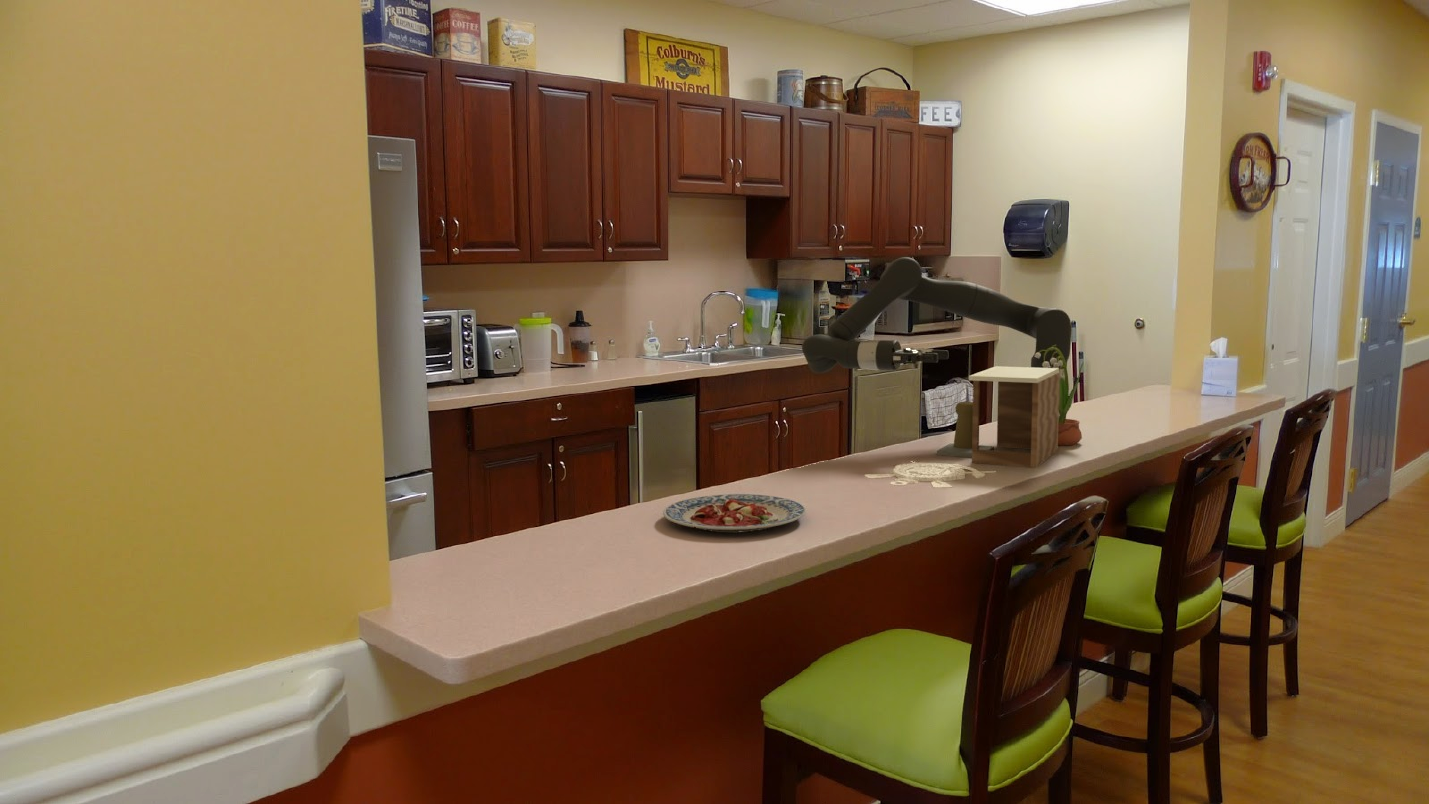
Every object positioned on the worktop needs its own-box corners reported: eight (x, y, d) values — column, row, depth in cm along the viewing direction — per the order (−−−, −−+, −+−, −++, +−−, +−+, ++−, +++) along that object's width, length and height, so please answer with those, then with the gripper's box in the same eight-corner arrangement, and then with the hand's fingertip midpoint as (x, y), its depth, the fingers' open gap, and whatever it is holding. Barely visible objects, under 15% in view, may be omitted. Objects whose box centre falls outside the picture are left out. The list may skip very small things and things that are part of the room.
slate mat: (950, 447, 255) (950, 443, 255) (994, 450, 250) (994, 446, 249) (936, 454, 245) (936, 450, 245) (982, 458, 240) (982, 453, 240)
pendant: (1003, 472, 226) (1003, 465, 226) (940, 494, 206) (940, 487, 205) (918, 461, 240) (918, 455, 240) (851, 481, 220) (851, 475, 220)
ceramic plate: (635, 520, 187) (635, 504, 187) (743, 498, 203) (743, 484, 203) (722, 549, 167) (722, 531, 167) (835, 522, 183) (835, 506, 183)
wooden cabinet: (994, 445, 256) (995, 366, 253) (1057, 450, 249) (1059, 368, 246) (967, 462, 235) (968, 375, 233) (1036, 467, 228) (1038, 378, 225)
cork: (962, 443, 254) (962, 399, 253) (983, 446, 250) (984, 401, 249) (948, 446, 250) (948, 402, 249) (970, 449, 246) (970, 404, 245)
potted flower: (1032, 445, 255) (1034, 345, 252) (1031, 439, 265) (1034, 342, 261) (1082, 447, 252) (1085, 346, 248) (1080, 440, 261) (1083, 343, 258)
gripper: (869, 342, 249) (934, 343, 241) (888, 338, 261) (951, 338, 253) (869, 373, 250) (934, 374, 242) (889, 367, 262) (951, 369, 254)
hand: (943, 356), depth 247 cm, fingers open, 8 cm apart
